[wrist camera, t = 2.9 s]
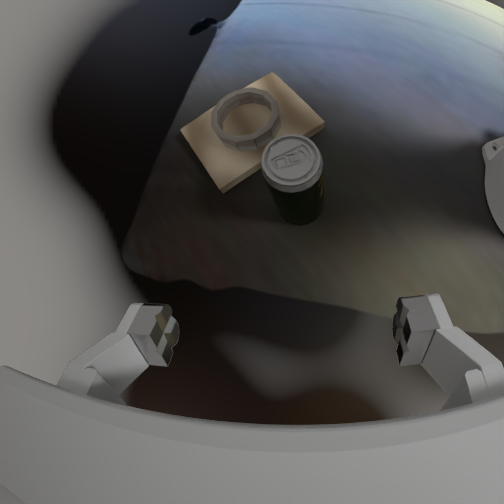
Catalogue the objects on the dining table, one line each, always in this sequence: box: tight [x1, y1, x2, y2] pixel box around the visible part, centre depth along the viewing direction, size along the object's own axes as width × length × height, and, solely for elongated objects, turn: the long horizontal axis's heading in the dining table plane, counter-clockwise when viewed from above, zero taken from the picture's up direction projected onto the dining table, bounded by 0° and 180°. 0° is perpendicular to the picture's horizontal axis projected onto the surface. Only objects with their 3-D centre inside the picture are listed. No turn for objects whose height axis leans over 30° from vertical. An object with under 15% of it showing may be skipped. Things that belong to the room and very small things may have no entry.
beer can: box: [261, 134, 323, 225], centre depth 30 cm, size 5×5×12 cm
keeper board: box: [180, 72, 325, 194], centre depth 37 cm, size 16×12×4 cm
